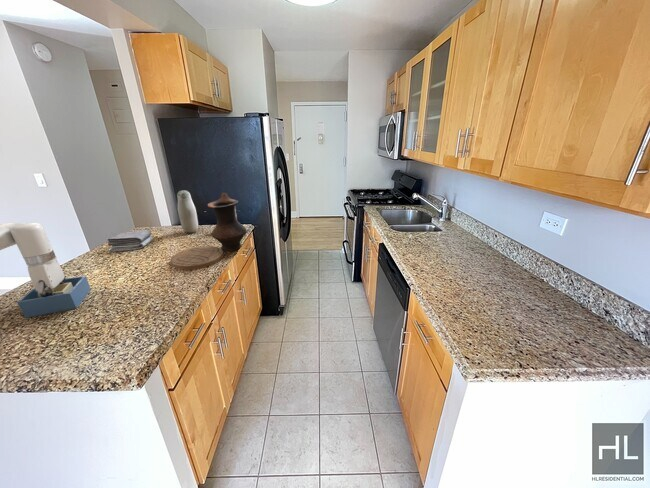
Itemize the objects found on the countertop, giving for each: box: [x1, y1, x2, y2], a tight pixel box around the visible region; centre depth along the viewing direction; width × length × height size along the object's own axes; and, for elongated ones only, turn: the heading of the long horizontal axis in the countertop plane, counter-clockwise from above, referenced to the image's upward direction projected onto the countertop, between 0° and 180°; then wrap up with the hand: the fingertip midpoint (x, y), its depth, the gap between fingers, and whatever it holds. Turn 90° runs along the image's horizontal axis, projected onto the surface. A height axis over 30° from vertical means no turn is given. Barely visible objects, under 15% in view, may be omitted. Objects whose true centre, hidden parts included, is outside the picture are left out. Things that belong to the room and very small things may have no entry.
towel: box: [107, 229, 154, 253], centre depth 151 cm, size 15×18×8 cm
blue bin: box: [16, 275, 92, 319], centre depth 98 cm, size 14×14×7 cm
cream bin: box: [38, 283, 73, 298], centre depth 98 cm, size 7×7×6 cm
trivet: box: [169, 245, 225, 271], centre depth 135 cm, size 25×25×2 cm
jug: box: [207, 192, 248, 253], centre depth 144 cm, size 21×18×30 cm
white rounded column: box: [176, 189, 199, 234], centre depth 169 cm, size 10×10×28 cm
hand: (59, 299), depth 99 cm, fingers closed on cream bin, 7 cm apart
